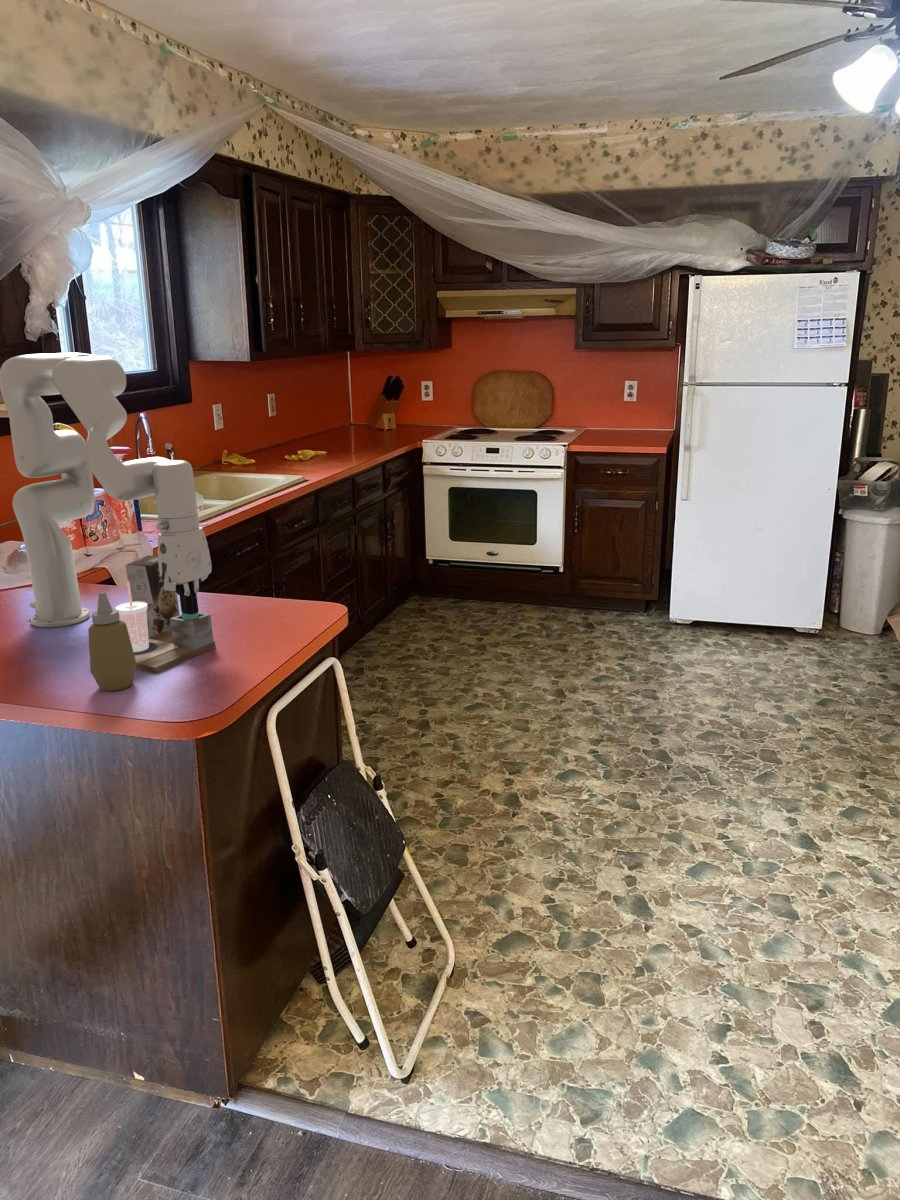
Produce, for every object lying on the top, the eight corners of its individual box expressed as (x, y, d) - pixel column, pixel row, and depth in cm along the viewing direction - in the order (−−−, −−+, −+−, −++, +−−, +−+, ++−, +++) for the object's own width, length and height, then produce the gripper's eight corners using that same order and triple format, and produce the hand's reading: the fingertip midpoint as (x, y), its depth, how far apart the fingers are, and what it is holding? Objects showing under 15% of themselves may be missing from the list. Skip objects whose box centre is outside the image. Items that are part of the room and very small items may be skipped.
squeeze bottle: (100, 678, 170) (86, 588, 165) (144, 676, 170) (130, 585, 165) (87, 695, 162) (71, 600, 157) (132, 692, 163) (118, 598, 157)
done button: (180, 627, 182) (178, 613, 181) (191, 623, 184) (190, 609, 184) (191, 630, 180) (189, 615, 179) (203, 625, 183) (201, 611, 182)
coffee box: (160, 638, 192) (150, 565, 187) (134, 636, 193) (123, 564, 188) (182, 624, 200) (173, 554, 195) (156, 623, 202) (147, 554, 197)
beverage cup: (150, 641, 185) (141, 576, 181) (155, 649, 180) (146, 583, 176) (119, 646, 183) (109, 580, 178) (123, 655, 177) (113, 587, 173)
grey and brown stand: (103, 661, 179) (97, 627, 177) (164, 637, 192) (160, 605, 190) (156, 673, 172) (151, 637, 170) (215, 647, 185) (211, 614, 183)
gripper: (163, 533, 168) (175, 625, 173) (220, 518, 180) (229, 604, 186) (135, 530, 172) (148, 620, 177) (193, 515, 184) (203, 600, 189)
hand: (190, 612), depth 181 cm, fingers closed
